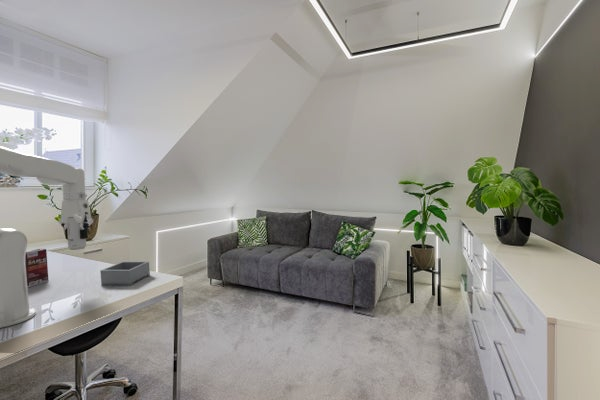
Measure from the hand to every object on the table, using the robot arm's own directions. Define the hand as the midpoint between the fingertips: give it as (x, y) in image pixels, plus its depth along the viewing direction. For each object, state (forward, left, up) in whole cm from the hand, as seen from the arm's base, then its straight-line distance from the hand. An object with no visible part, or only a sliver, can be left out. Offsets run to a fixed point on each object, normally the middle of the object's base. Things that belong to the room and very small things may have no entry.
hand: (76, 238), depth 120 cm
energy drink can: (0, 0, -5) cm, 5 cm away
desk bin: (+12, -12, -23) cm, 29 cm away
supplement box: (+6, +29, -23) cm, 38 cm away
